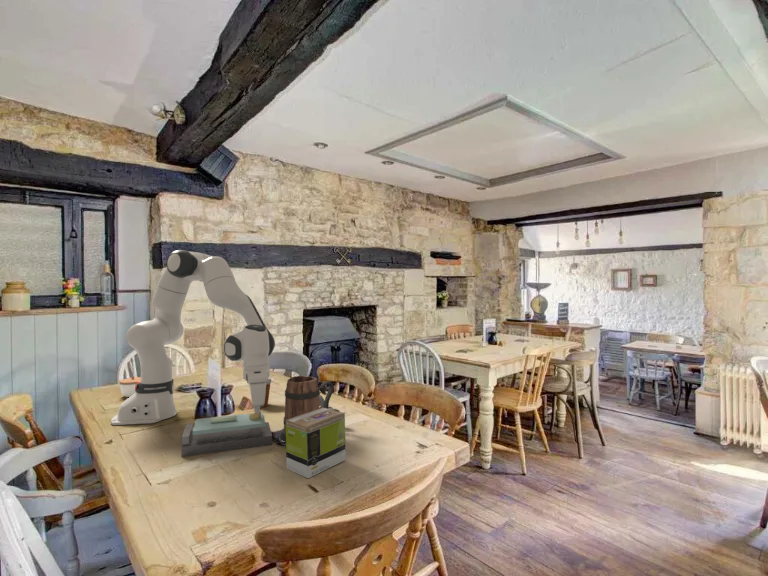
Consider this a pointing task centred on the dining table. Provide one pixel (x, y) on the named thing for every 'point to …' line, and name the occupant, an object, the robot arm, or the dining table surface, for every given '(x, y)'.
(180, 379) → the dining table surface
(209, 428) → the plate
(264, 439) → the base
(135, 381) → the lidded jar
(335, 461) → the tea box
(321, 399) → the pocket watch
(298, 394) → the tankard
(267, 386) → the disposable coffee cup
